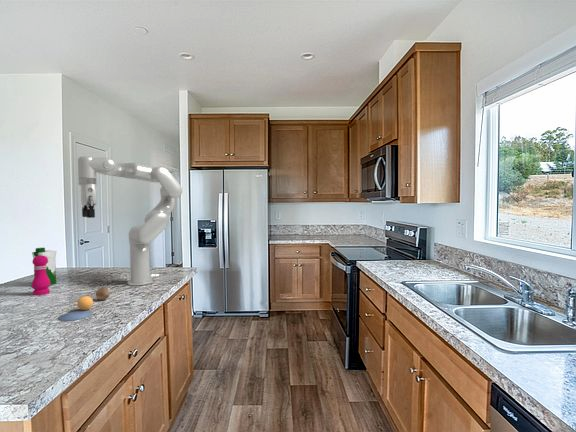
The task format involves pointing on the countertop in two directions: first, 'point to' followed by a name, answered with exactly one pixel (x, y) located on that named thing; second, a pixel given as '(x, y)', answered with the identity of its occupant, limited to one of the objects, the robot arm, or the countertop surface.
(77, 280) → the countertop surface
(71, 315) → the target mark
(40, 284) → the pepper mill
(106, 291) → the brown egg
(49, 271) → the milk carton
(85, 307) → the object ball
